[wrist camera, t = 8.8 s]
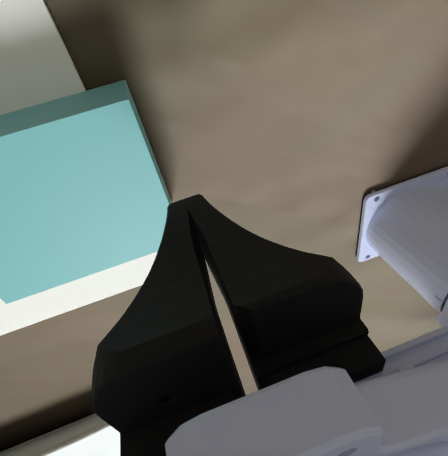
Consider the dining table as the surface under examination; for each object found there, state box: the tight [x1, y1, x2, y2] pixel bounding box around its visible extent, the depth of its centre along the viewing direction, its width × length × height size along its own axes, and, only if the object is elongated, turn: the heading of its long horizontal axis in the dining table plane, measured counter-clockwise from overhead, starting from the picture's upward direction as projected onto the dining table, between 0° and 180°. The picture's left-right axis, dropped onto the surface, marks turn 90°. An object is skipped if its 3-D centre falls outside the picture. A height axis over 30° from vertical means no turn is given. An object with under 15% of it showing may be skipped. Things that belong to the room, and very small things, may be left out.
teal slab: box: [0, 79, 172, 304], centre depth 16 cm, size 4×8×10 cm
